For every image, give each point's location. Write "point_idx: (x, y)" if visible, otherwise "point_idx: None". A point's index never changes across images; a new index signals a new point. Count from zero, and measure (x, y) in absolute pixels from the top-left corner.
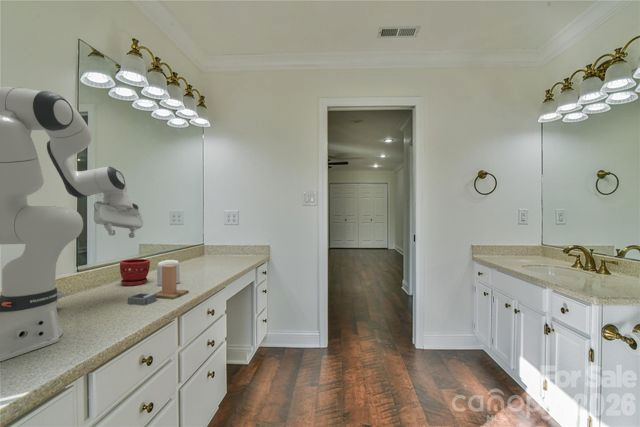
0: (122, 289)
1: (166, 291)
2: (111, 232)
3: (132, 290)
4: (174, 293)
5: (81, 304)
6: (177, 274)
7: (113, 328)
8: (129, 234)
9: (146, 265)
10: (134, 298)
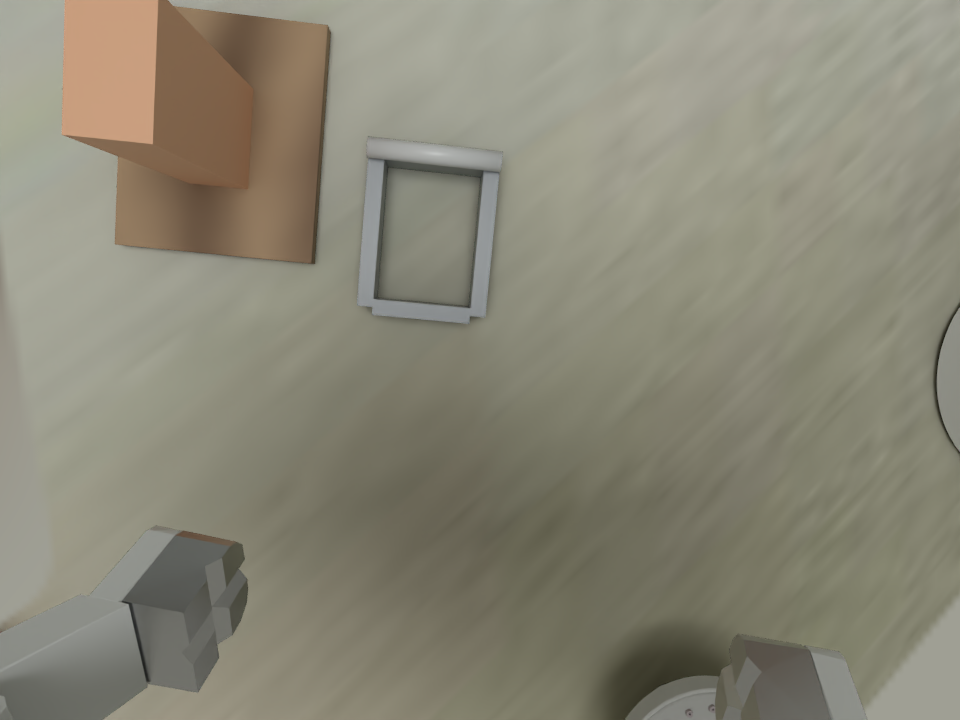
0: None
1: (244, 140)
2: (847, 692)
3: None
4: None
5: (520, 623)
6: None
7: (903, 60)
8: (205, 653)
9: None
10: (491, 253)
